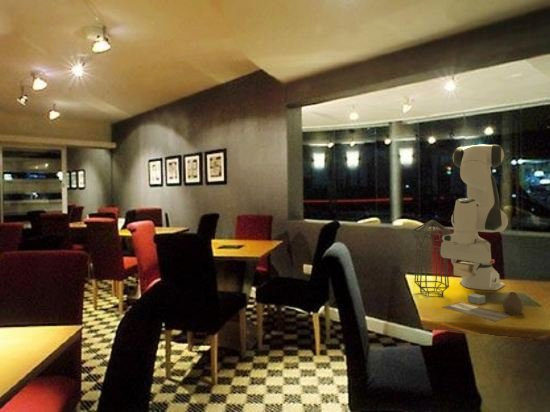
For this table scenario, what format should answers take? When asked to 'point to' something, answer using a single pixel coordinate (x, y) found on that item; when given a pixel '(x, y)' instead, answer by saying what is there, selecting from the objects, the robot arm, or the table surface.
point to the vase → (513, 304)
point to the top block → (476, 298)
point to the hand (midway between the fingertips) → (464, 271)
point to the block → (463, 269)
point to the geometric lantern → (442, 228)
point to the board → (477, 311)
